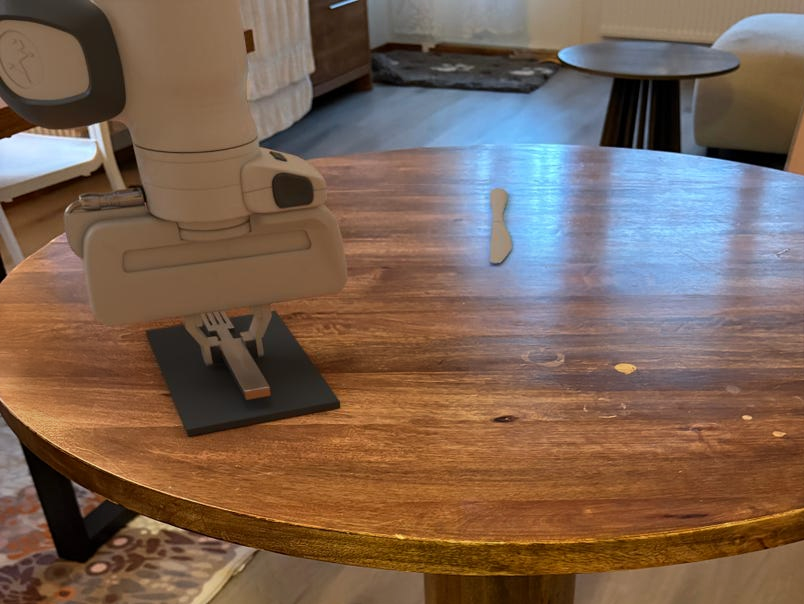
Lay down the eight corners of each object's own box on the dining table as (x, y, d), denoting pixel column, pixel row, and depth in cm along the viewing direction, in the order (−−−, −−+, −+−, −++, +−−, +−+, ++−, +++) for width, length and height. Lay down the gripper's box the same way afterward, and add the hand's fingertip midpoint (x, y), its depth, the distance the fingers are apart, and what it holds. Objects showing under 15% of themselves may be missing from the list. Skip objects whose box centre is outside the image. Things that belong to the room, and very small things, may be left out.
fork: (272, 396, 71) (271, 386, 70) (244, 401, 70) (242, 391, 70) (222, 312, 83) (221, 303, 83) (198, 315, 82) (196, 306, 82)
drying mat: (146, 336, 83) (144, 330, 82) (276, 316, 86) (275, 310, 86) (188, 436, 69) (186, 429, 69) (340, 407, 73) (339, 400, 72)
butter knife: (514, 187, 117) (491, 185, 117) (511, 263, 97) (483, 261, 97) (513, 192, 117) (490, 190, 117) (510, 269, 97) (482, 267, 97)
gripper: (59, 208, 62) (110, 396, 72) (346, 178, 69) (359, 354, 78) (51, 184, 67) (101, 364, 76) (322, 157, 73) (337, 326, 82)
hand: (234, 358), depth 77 cm, fingers closed on fork
